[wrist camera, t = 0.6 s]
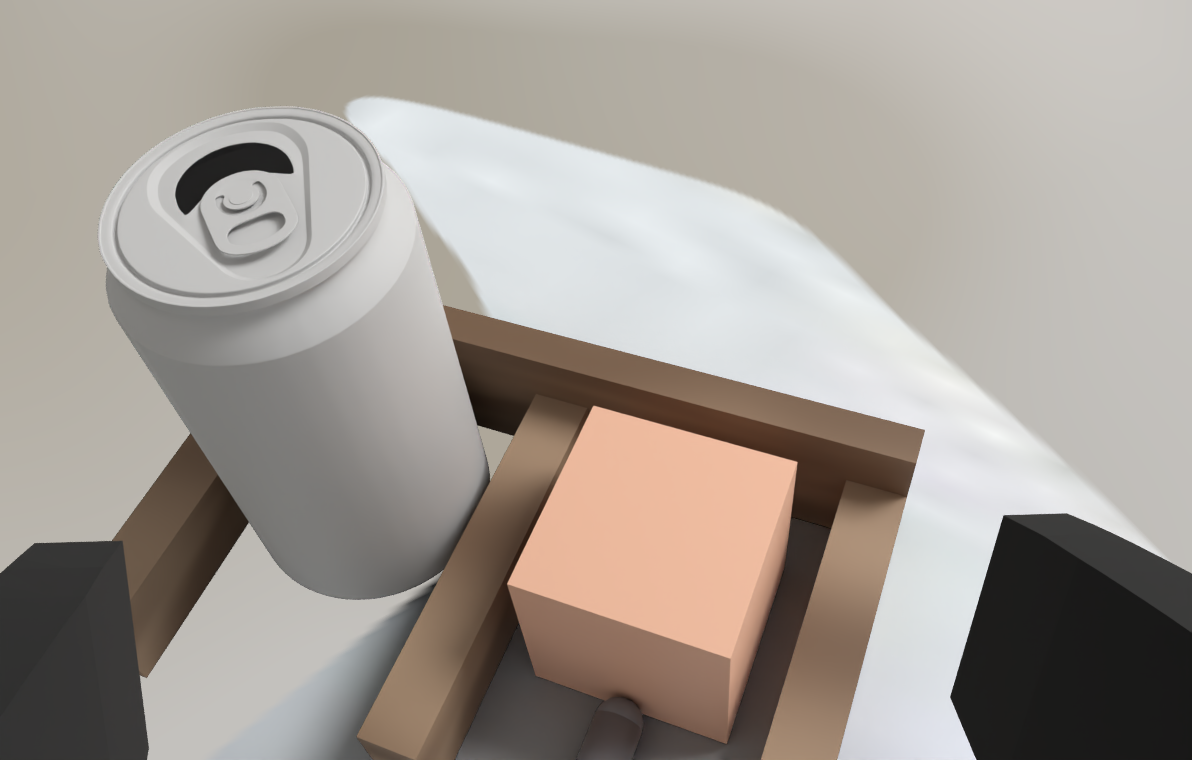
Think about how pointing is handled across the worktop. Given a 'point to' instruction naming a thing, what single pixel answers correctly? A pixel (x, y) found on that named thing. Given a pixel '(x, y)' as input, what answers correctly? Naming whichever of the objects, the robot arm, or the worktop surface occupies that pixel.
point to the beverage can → (301, 342)
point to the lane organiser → (515, 502)
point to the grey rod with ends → (654, 576)
